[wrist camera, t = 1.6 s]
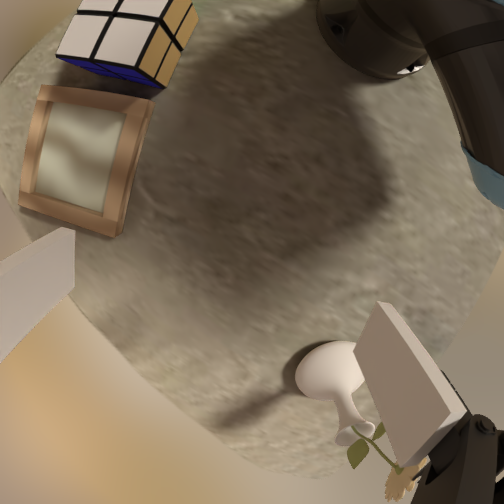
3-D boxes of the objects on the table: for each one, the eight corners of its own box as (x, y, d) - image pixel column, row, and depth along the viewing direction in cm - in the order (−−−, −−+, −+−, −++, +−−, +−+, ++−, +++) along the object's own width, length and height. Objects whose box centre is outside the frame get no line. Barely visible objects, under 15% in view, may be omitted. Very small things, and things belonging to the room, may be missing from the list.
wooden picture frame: (51, 86, 28) (41, 84, 25) (155, 102, 30) (149, 99, 27) (28, 200, 33) (18, 204, 30) (122, 232, 35) (114, 238, 32)
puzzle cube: (96, 74, 28) (52, 56, 19) (129, 6, 25) (96, -27, 16) (166, 90, 29) (136, 70, 20) (200, 18, 26) (185, -22, 17)
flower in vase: (332, 398, 44) (370, 529, 21) (278, 375, 42) (297, 530, 19) (387, 344, 41) (462, 473, 17) (335, 312, 39) (408, 472, 15)
